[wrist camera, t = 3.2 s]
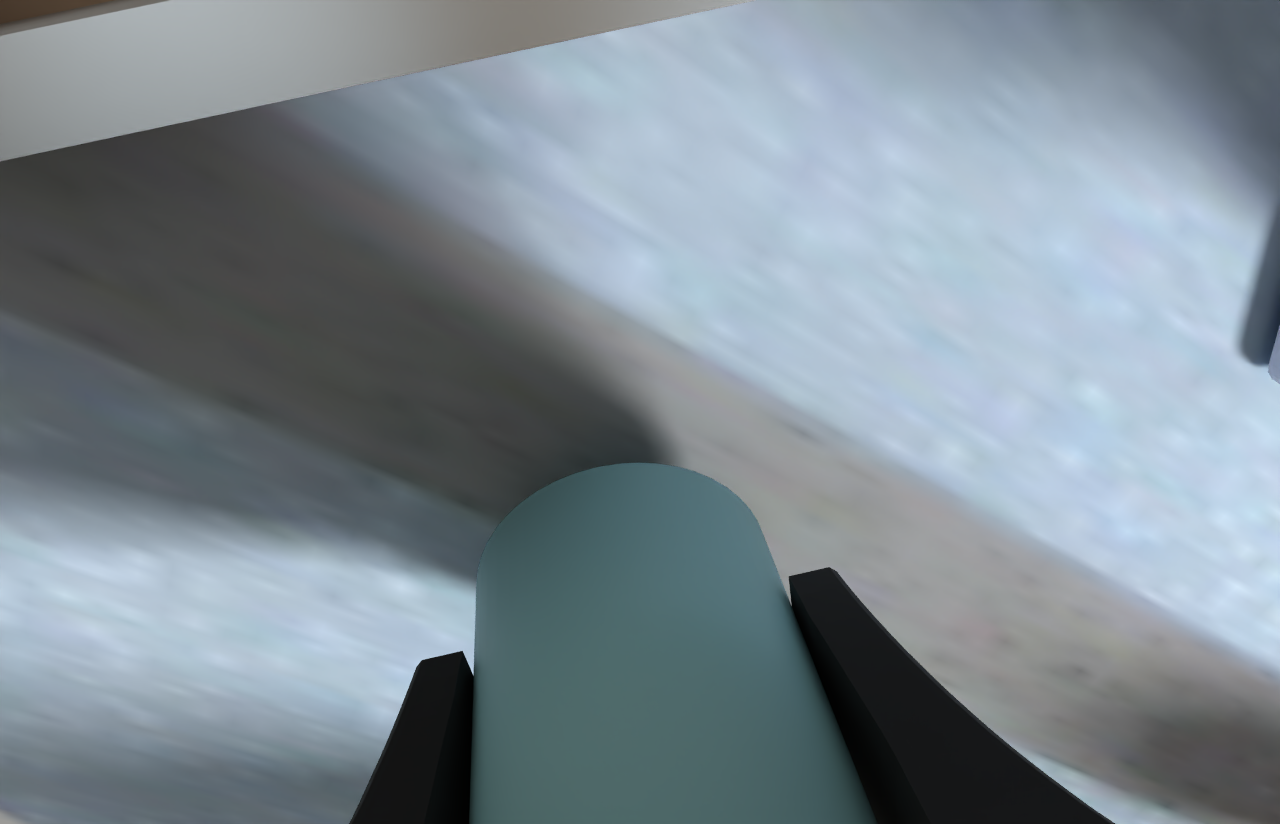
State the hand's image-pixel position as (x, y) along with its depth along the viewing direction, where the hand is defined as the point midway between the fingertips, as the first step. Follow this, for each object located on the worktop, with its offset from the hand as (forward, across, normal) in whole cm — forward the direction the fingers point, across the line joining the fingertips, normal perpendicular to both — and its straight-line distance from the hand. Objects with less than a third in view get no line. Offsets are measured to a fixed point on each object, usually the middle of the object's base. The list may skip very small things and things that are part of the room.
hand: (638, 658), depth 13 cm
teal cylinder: (+2, 0, 0) cm, 2 cm away
